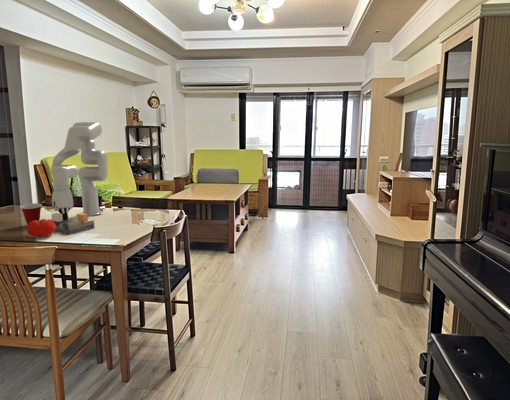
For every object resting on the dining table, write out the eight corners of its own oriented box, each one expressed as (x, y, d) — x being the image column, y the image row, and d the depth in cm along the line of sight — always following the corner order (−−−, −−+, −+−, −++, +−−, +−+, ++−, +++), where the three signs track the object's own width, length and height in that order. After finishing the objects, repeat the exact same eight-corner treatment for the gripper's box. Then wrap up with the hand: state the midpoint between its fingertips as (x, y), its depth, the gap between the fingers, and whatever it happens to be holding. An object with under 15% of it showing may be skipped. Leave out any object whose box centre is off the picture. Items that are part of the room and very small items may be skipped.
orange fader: (82, 222, 198) (81, 213, 197) (88, 223, 195) (87, 213, 194) (77, 223, 195) (76, 214, 194) (83, 224, 193) (82, 214, 192)
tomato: (63, 232, 186) (62, 216, 184) (48, 239, 173) (47, 222, 172) (38, 232, 186) (36, 216, 185) (21, 239, 174) (19, 222, 172)
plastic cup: (20, 228, 195) (18, 207, 193) (23, 224, 205) (20, 204, 203) (43, 226, 200) (41, 205, 198) (44, 222, 210) (42, 202, 208)
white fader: (57, 222, 198) (56, 212, 197) (63, 223, 196) (62, 213, 195) (52, 223, 196) (51, 213, 195) (57, 224, 193) (56, 214, 192)
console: (67, 223, 207) (67, 216, 206) (94, 228, 196) (93, 220, 195) (42, 229, 194) (41, 221, 193) (69, 234, 183) (68, 226, 182)
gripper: (70, 186, 204) (72, 216, 207) (44, 189, 191) (47, 221, 194) (78, 187, 201) (80, 218, 204) (52, 190, 188) (56, 223, 191)
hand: (64, 219), depth 199 cm, fingers closed
